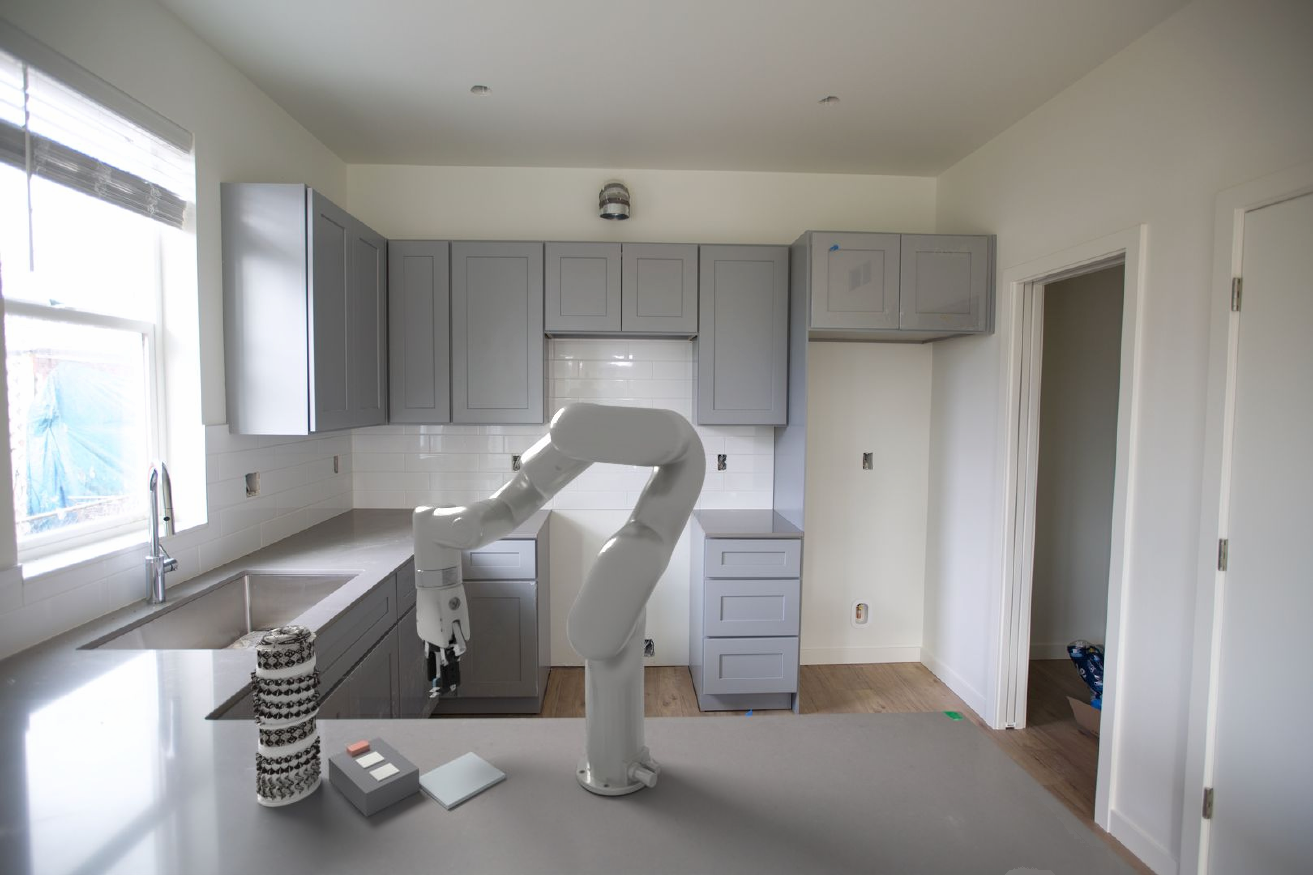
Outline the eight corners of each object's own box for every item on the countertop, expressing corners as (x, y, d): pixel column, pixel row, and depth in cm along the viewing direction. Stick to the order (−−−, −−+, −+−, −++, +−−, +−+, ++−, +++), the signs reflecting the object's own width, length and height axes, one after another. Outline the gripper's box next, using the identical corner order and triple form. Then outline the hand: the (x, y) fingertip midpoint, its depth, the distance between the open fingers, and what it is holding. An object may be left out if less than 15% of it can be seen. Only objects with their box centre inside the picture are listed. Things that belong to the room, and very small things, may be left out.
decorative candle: (239, 800, 88) (234, 637, 88) (296, 766, 97) (292, 617, 96) (281, 814, 85) (276, 645, 84) (336, 778, 94) (333, 624, 93)
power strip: (420, 789, 90) (420, 762, 90) (366, 817, 84) (365, 788, 84) (380, 756, 100) (380, 731, 99) (328, 779, 93) (328, 752, 93)
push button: (444, 702, 96) (441, 642, 96) (417, 698, 98) (415, 639, 97) (469, 684, 102) (466, 628, 102) (443, 681, 104) (441, 626, 104)
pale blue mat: (505, 777, 93) (505, 774, 93) (447, 809, 86) (447, 805, 86) (471, 754, 100) (471, 751, 100) (414, 782, 92) (414, 778, 92)
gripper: (485, 578, 97) (489, 687, 97) (434, 565, 108) (439, 663, 108) (443, 588, 91) (448, 704, 92) (394, 573, 102) (399, 677, 103)
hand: (443, 680), depth 100 cm, fingers closed on push button, 3 cm apart
